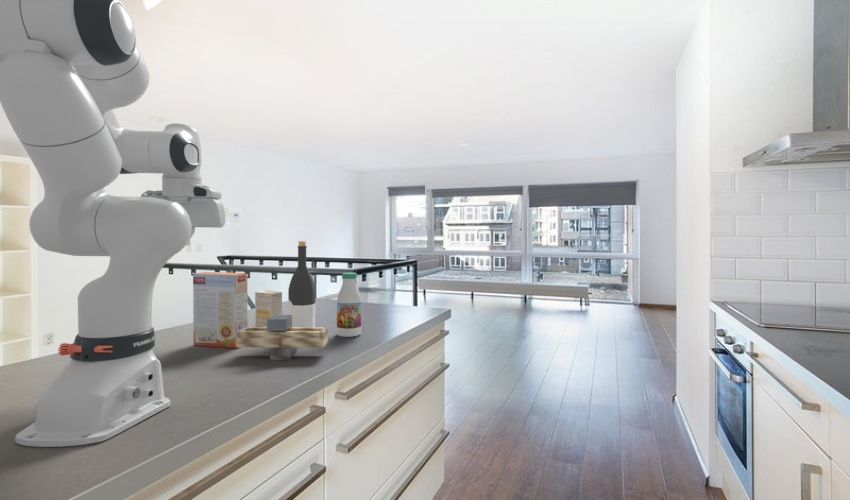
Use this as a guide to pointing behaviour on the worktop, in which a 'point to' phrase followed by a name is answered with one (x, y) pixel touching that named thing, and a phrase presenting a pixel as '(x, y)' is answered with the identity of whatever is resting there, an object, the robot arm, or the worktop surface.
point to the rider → (279, 323)
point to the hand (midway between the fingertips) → (182, 245)
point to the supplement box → (267, 306)
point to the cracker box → (219, 308)
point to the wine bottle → (302, 293)
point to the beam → (283, 340)
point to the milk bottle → (349, 307)
